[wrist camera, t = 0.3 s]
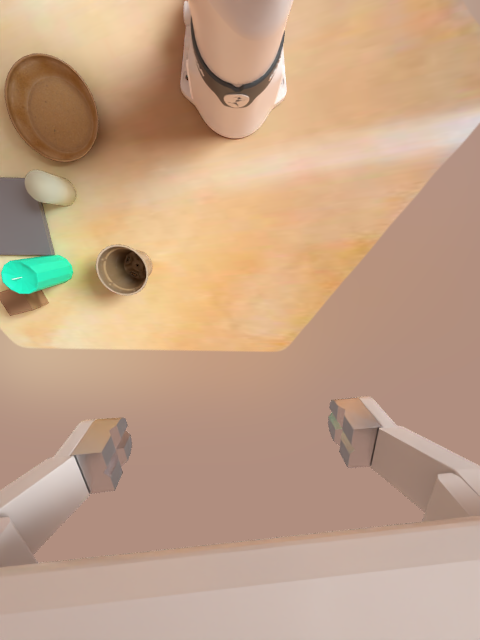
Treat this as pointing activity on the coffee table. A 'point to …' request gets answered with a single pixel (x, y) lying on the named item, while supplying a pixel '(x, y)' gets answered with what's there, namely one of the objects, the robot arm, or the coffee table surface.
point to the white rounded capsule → (49, 188)
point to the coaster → (22, 221)
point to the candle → (36, 273)
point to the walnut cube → (22, 301)
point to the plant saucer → (51, 107)
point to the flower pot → (123, 269)
